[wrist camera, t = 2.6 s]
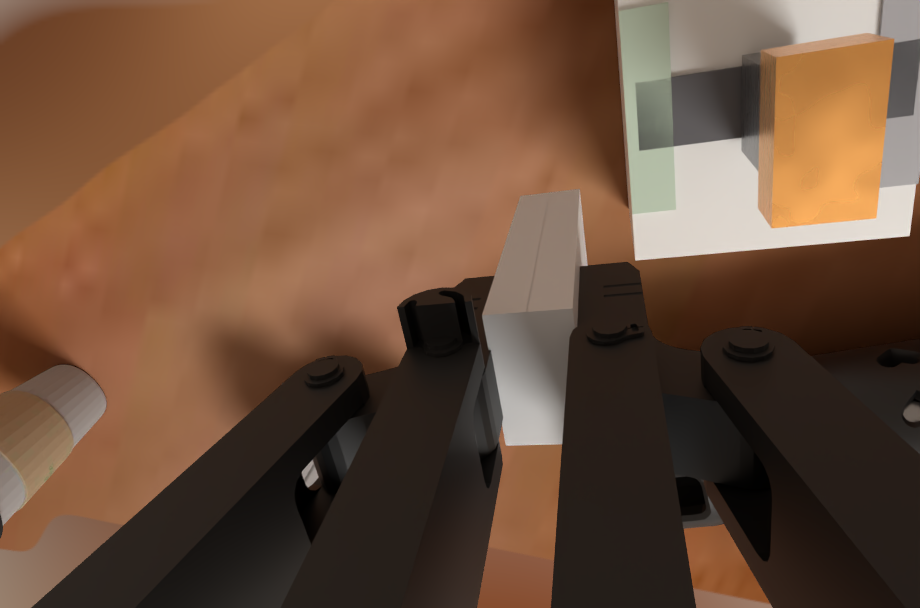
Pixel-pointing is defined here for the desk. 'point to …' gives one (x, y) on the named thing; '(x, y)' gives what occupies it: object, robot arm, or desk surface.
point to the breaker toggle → (817, 127)
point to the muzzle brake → (869, 379)
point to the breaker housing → (720, 119)
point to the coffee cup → (42, 430)
